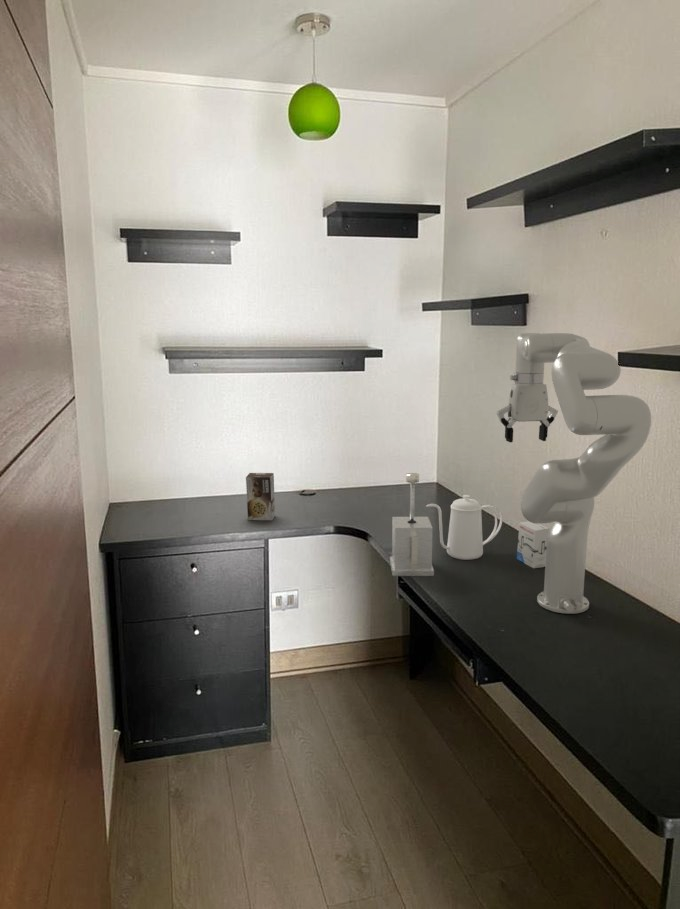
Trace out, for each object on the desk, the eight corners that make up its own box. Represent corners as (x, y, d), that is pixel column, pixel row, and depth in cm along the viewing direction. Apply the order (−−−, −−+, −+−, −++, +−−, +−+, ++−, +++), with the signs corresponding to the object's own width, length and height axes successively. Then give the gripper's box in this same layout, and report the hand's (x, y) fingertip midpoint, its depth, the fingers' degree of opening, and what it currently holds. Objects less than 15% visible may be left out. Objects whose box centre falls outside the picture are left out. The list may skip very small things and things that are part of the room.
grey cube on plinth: (435, 579, 191) (436, 531, 189) (393, 579, 191) (393, 531, 189) (428, 561, 205) (429, 516, 202) (389, 561, 205) (390, 516, 202)
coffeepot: (418, 552, 212) (419, 494, 208) (491, 545, 219) (494, 487, 215) (432, 565, 202) (433, 503, 198) (508, 556, 209) (511, 496, 205)
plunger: (425, 539, 194) (426, 477, 190) (400, 539, 194) (401, 477, 190) (422, 531, 201) (423, 471, 197) (398, 531, 201) (399, 471, 197)
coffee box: (275, 515, 251) (274, 472, 248) (272, 521, 245) (270, 476, 242) (251, 515, 252) (249, 472, 249) (247, 520, 246) (245, 476, 243)
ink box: (515, 559, 207) (517, 521, 204) (529, 556, 208) (531, 519, 206) (533, 568, 199) (535, 530, 196) (547, 566, 200) (550, 528, 198)
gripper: (504, 381, 182) (501, 444, 186) (565, 379, 185) (561, 442, 189) (493, 378, 190) (491, 439, 193) (552, 377, 192) (549, 437, 196)
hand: (525, 440), depth 191 cm, fingers open, 9 cm apart
